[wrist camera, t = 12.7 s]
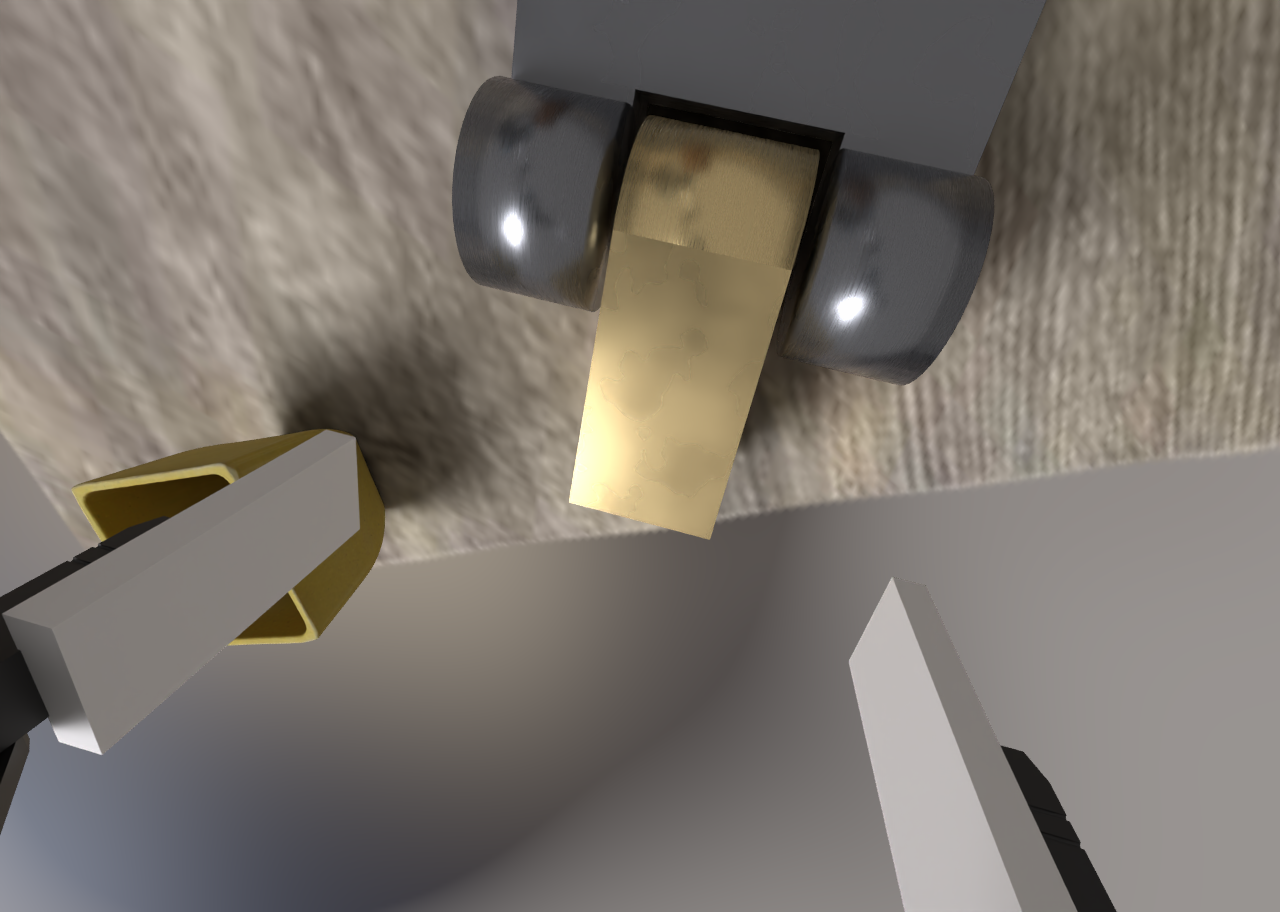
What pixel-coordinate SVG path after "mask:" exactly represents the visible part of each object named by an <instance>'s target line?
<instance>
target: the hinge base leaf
mask: <svg viewBox="0 0 1280 912" xmlns="http://www.w3.org/2000/svg"><path fill="white" fill-rule="evenodd" d="M1045 2H1046V0H518V1H517V14H516V27H515V40H514V53H513V66H512V78H507V77H503V76H495V77H492V78H490V79H488V80H487V81H486V82H485V83H483V85H482V86H481V87H480V88H479V90H478V91H477V92H476V94H475V96H474V97H473V99H472V101H471V103H470V106H469V108H468V110H467V112H466V115H465V118H464V121H463V124H462V128H461V132H460V136H459V140H458V145H457V150H456V156H455V164H454V172H453V187H452V206H453V222H454V231H455V237H456V242H457V246H458V250H459V254H460V257H461V260H462V262H463V265H464V267H465V269H466V271H467V273H468V274H469V275H470V277H471V278H472V279H473V280H474V281H475V282H476V283H478V284H480V285H483V286H487V287H491V288H495V289H499V290H504V291H508V292H512V293H516V294H520V295H524V296H529V297H533V298H537V299H541V300H545V301H550V302H554V303H558V304H562V305H566V306H570V307H575V308H579V309H583V310H587V311H591V312H595V311H597V310H598V309H599V308H600V307H601V301H602V295H603V289H604V283H605V276H606V270H607V264H608V258H609V251H610V245H611V239H612V233H613V227H614V221H615V215H616V210H617V205H618V200H619V196H620V191H621V187H622V182H623V179H624V175H625V171H626V167H627V164H628V160H629V157H630V153H631V150H632V147H633V144H634V142H635V139H636V137H637V134H638V132H639V130H640V127H641V125H642V124H643V122H644V120H645V119H646V118H647V113H648V108H649V104H654V105H659V106H664V107H668V108H673V109H678V110H683V111H688V112H692V113H697V114H702V115H707V116H711V117H716V118H721V119H726V120H731V121H735V122H740V123H745V124H750V125H754V126H759V127H764V128H769V129H774V130H778V131H783V132H788V133H793V134H797V135H802V136H807V137H812V138H817V139H821V140H826V141H831V142H832V145H831V149H830V152H829V155H828V158H827V162H826V165H825V168H824V171H823V175H822V178H821V181H820V184H819V188H818V191H817V194H816V197H815V201H814V204H813V207H812V210H811V214H810V217H809V220H808V223H807V228H806V231H805V234H804V237H803V240H802V243H801V246H800V249H799V253H798V256H797V259H796V263H795V266H794V270H793V273H792V277H791V280H790V284H789V288H788V292H787V296H786V300H785V304H784V308H783V313H782V318H781V323H780V328H779V334H778V342H777V354H778V356H779V357H783V358H788V359H792V360H796V361H800V362H804V363H808V364H813V365H817V366H821V367H825V368H829V369H833V370H838V371H842V372H846V373H850V374H854V375H859V376H863V377H867V378H871V379H875V380H879V381H884V382H888V383H892V384H896V385H906V384H909V383H911V382H912V381H914V380H915V379H917V378H918V377H919V376H920V375H921V374H923V373H924V372H925V370H926V369H927V368H928V367H929V366H930V365H931V364H932V363H933V361H934V360H935V359H936V358H937V356H938V355H939V353H940V352H941V351H942V349H943V348H944V346H945V345H946V343H947V342H948V340H949V338H950V337H951V335H952V333H953V332H954V330H955V328H956V326H957V324H958V322H959V321H960V319H961V317H962V315H963V313H964V310H965V308H966V306H967V304H968V302H969V300H970V297H971V295H972V293H973V290H974V288H975V285H976V283H977V280H978V277H979V275H980V272H981V269H982V266H983V262H984V259H985V256H986V252H987V249H988V245H989V241H990V236H991V231H992V225H993V217H994V195H993V190H992V187H991V184H990V183H989V181H988V180H987V179H985V178H983V177H979V176H974V173H975V170H976V168H977V166H978V163H979V161H980V158H981V156H982V154H983V151H984V149H985V146H986V144H987V142H988V139H989V137H990V134H991V132H992V130H993V127H994V125H995V122H996V120H997V117H998V115H999V113H1000V110H1001V108H1002V105H1003V103H1004V101H1005V98H1006V96H1007V93H1008V91H1009V89H1010V86H1011V84H1012V81H1013V79H1014V77H1015V74H1016V72H1017V69H1018V67H1019V65H1020V62H1021V60H1022V57H1023V55H1024V53H1025V50H1026V48H1027V45H1028V43H1029V41H1030V38H1031V36H1032V33H1033V31H1034V29H1035V26H1036V24H1037V21H1038V19H1039V17H1040V14H1041V12H1042V9H1043V7H1044V5H1045Z"/></svg>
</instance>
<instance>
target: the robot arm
mask: <svg viewBox="0 0 1280 912" xmlns="http://www.w3.org/2000/svg"><path fill="white" fill-rule="evenodd" d="M359 529H360V519H359V498H358V477H357V456H356V437H353V436H349V435H345V434H341V433H337V432H334V431H330V430H325V431H323V432H321V433H320V434H318V435H316V436H314V437H312V438H311V439H309V440H307V441H305V442H304V443H302V444H300V445H298V446H297V447H295V448H293V449H291V450H290V451H288V452H286V453H284V454H283V455H281V456H279V457H277V458H275V459H274V460H272V461H270V462H268V463H267V464H265V465H263V466H261V467H260V468H258V469H256V470H254V471H253V472H251V473H249V474H247V475H246V476H244V477H242V478H240V479H238V480H237V481H235V482H233V483H231V484H230V485H228V486H226V487H224V488H223V489H221V490H219V491H217V492H216V493H214V494H212V495H210V496H209V497H207V498H205V499H203V500H201V501H200V502H198V503H196V504H194V505H193V506H191V507H189V508H187V509H186V510H184V511H182V512H180V513H179V514H177V515H175V516H173V517H172V518H169V517H166V516H162V517H159V518H156V519H153V520H150V521H147V522H144V523H141V524H137V525H134V526H131V527H128V528H126V529H125V530H123V531H121V532H119V533H117V534H115V535H114V536H112V537H110V538H108V539H106V540H104V541H103V542H101V543H99V544H98V547H96V548H94V547H92V548H90V549H88V550H86V551H84V552H82V553H81V554H79V555H77V556H75V557H73V560H72V561H71V562H69V561H66V562H64V563H62V564H60V565H58V566H57V567H55V568H53V569H51V570H49V571H47V572H46V573H44V574H42V575H40V576H38V577H37V578H35V579H33V580H31V581H29V582H27V583H25V584H24V585H22V586H20V587H18V588H16V589H14V590H12V591H11V592H9V593H7V594H5V595H3V596H2V597H0V834H1V831H2V828H3V825H4V822H5V819H6V817H7V814H8V811H9V808H10V805H11V802H12V799H13V796H14V793H15V790H16V788H17V785H18V782H19V779H20V776H21V773H22V770H23V767H24V764H25V762H26V759H27V756H28V753H29V744H30V743H29V742H30V738H29V736H28V734H27V733H28V732H29V731H30V730H32V729H33V728H34V727H35V726H37V725H38V724H39V723H41V722H42V721H44V720H45V719H46V718H47V717H48V718H49V721H50V723H51V725H52V727H53V730H54V732H55V734H56V736H57V739H58V740H59V742H62V743H65V744H68V745H71V746H75V747H78V748H81V749H84V750H88V751H91V752H94V753H97V754H101V755H103V754H104V753H105V752H106V751H107V750H108V749H110V748H111V747H112V746H113V745H114V744H115V743H116V742H117V741H119V740H120V739H121V738H122V737H123V736H124V735H126V734H127V733H128V732H129V731H130V730H131V729H132V728H134V726H136V725H137V724H138V723H139V722H140V721H142V720H143V719H144V718H145V717H146V716H147V715H148V714H150V713H151V712H152V711H153V710H154V709H155V708H156V707H157V706H159V705H160V704H161V703H162V702H163V701H164V700H165V699H167V698H168V697H169V696H170V695H171V694H172V693H173V692H175V691H176V690H177V689H178V688H179V687H180V686H181V685H183V684H184V683H185V682H186V681H187V680H188V679H189V678H191V677H192V676H193V675H194V674H195V673H196V672H197V671H199V670H200V669H201V668H202V667H203V666H204V665H205V664H207V663H208V662H209V661H210V660H211V659H212V658H213V657H215V656H216V655H217V654H218V653H219V652H220V651H221V650H223V648H225V646H227V645H228V644H229V643H231V642H232V641H233V640H234V639H235V638H236V637H237V636H239V635H240V634H241V633H242V632H243V631H244V630H245V629H247V628H248V627H249V626H250V625H251V624H252V623H253V622H254V621H256V620H257V619H258V618H259V617H260V616H261V615H262V614H264V613H265V612H266V611H267V610H268V609H269V608H270V607H272V606H273V605H274V604H275V603H276V602H277V601H278V600H280V599H281V598H282V597H283V596H284V595H285V594H286V593H288V592H289V591H290V590H291V589H292V588H293V587H294V586H296V585H297V584H298V583H299V582H300V581H301V580H302V579H304V578H305V577H306V576H307V575H308V574H309V573H310V572H312V571H313V570H314V569H315V568H316V567H317V566H318V565H319V564H321V563H322V562H323V561H324V560H325V559H326V558H327V557H329V556H330V555H331V554H332V553H333V552H334V551H335V550H337V549H338V548H339V547H340V546H341V545H342V544H343V543H345V542H346V541H347V540H348V539H349V538H350V537H351V536H353V535H354V534H355V533H356V532H357V531H358V530H359ZM849 665H850V670H851V674H852V679H853V683H854V688H855V692H856V697H857V701H858V705H859V710H860V714H861V719H862V723H863V728H864V732H865V737H866V741H867V745H868V750H869V754H870V758H871V763H872V768H873V772H874V777H875V781H876V786H877V790H878V794H879V799H880V803H881V808H882V812H883V817H884V821H885V825H886V830H887V835H888V839H889V843H890V848H891V852H892V857H893V861H894V865H895V870H896V875H897V879H898V884H899V887H900V892H901V897H902V901H903V906H904V910H905V912H1116V910H1115V908H1114V906H1113V904H1112V902H1111V900H1110V898H1109V896H1108V894H1107V893H1106V890H1105V889H1104V887H1103V885H1102V883H1101V881H1100V879H1099V877H1098V875H1097V873H1096V871H1095V869H1094V867H1093V865H1092V864H1091V862H1090V860H1089V858H1088V856H1087V854H1086V852H1085V850H1083V849H1081V848H1080V840H1079V838H1078V837H1077V835H1076V833H1075V831H1074V829H1073V827H1072V825H1071V823H1070V822H1069V821H1067V820H1066V814H1065V811H1064V810H1063V808H1062V806H1061V804H1060V802H1059V800H1058V798H1057V796H1056V794H1055V792H1054V790H1053V788H1052V786H1051V784H1050V783H1049V781H1048V780H1047V779H1046V778H1045V777H1044V776H1043V774H1042V773H1041V772H1040V771H1039V770H1038V768H1037V767H1036V766H1035V765H1034V764H1033V762H1032V761H1031V760H1030V759H1029V758H1028V757H1027V756H1026V754H1025V753H1024V752H1023V751H1019V750H1015V749H1012V748H1008V747H1004V746H1001V745H1000V744H999V742H998V740H997V738H996V736H995V733H994V731H993V729H992V727H991V725H990V723H989V720H988V718H987V716H986V714H985V712H984V710H983V707H982V706H981V703H980V701H979V699H978V697H977V695H976V692H975V690H974V688H973V686H972V684H971V682H970V679H969V677H968V675H967V673H966V671H965V669H964V667H963V664H962V662H961V660H960V658H959V656H958V654H957V651H956V649H955V647H954V645H953V643H952V641H951V639H950V636H949V634H948V632H947V630H946V628H945V626H944V623H943V621H942V619H941V617H940V615H939V613H938V611H937V608H936V606H935V604H934V602H933V600H932V598H931V596H930V594H929V591H928V589H927V587H926V585H922V584H918V583H915V582H911V581H907V580H903V579H899V578H895V577H892V578H891V580H890V582H889V584H888V586H887V588H886V590H885V592H884V594H883V596H882V598H881V600H880V602H879V604H878V605H877V607H876V609H875V611H874V613H873V615H872V617H871V619H870V621H869V623H868V625H867V627H866V629H865V631H864V633H863V635H862V637H861V639H860V640H859V642H858V644H857V646H856V648H855V650H854V652H853V654H852V656H851V658H850V660H849Z"/></svg>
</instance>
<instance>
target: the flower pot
mask: <svg viewBox="0 0 1280 912" xmlns="http://www.w3.org/2000/svg"><path fill="white" fill-rule="evenodd" d="M325 430H330V431H334V432H337V433H341V434H345V435H349V436H353V435H352V434H350V433H347V432H344V431H340V430H335V429H316V430H309V431H303V432H297V433H292V434H286V435H280V436H274V437H268V438H262V439H256V440H249V441H243V442H235V443H227V444H220V445H213V446H208V447H203V448H198V449H193V450H189V451H185V452H182V453H178V454H175V455H171V456H168V457H165V458H162V459H159V460H155V461H152V462H149V463H146V464H142V465H139V466H136V467H133V468H129V469H126V470H123V471H119V472H116V473H113V474H110V475H106V476H103V477H100V478H97V479H93V480H90V481H87V482H84V483H81V484H78V485H76V486H74V487H73V488H72V492H73V494H74V496H75V498H76V500H77V502H78V504H79V506H80V507H81V509H82V511H83V512H84V514H85V516H86V517H87V519H88V521H89V522H90V524H91V526H92V527H93V529H94V530H95V532H96V533H97V535H98V536H99V538H100V540H101V541H102V542H103V541H104V540H106V539H108V538H110V537H112V536H114V535H115V534H117V533H119V532H121V531H123V530H125V529H126V528H128V527H131V526H134V525H137V524H141V523H144V522H147V521H150V520H153V519H156V518H159V517H162V516H166V517H169V518H172V517H173V516H175V515H177V514H179V513H180V512H182V511H184V510H186V509H187V508H189V507H191V506H193V505H194V504H196V503H198V502H200V501H201V500H203V499H205V498H207V497H209V496H210V495H212V494H214V493H216V492H217V491H219V490H221V489H223V488H224V487H226V486H228V485H230V484H231V483H233V482H235V481H237V480H238V479H240V478H242V477H244V476H246V475H247V474H249V473H251V472H253V471H254V470H256V469H258V468H260V467H261V466H263V465H265V464H267V463H268V462H270V461H272V460H274V459H275V458H277V457H279V456H281V455H283V454H284V453H286V452H288V451H290V450H291V449H293V448H295V447H297V446H298V445H300V444H302V443H304V442H305V441H307V440H309V439H311V438H312V437H314V436H316V435H318V434H320V433H321V432H323V431H325ZM353 437H354V436H353ZM356 456H357V477H358V498H359V519H360V529H359V530H358V531H357V532H356V533H355V534H354V535H353V536H351V537H350V538H349V539H348V540H347V541H346V542H345V543H343V544H342V545H341V546H340V547H339V548H338V549H337V550H335V551H334V552H333V553H332V554H331V555H330V556H329V557H327V558H326V559H325V560H324V561H323V562H322V563H321V564H319V565H318V566H317V567H316V568H315V569H314V570H313V571H312V572H310V573H309V574H308V575H307V576H306V577H305V578H304V579H302V580H301V581H300V582H299V583H298V584H297V585H296V586H294V587H293V588H292V589H291V590H290V591H289V592H288V593H286V594H285V595H284V596H283V597H282V598H281V599H280V600H278V601H277V602H276V603H275V604H274V605H273V606H272V607H270V608H269V609H268V610H267V611H266V612H265V613H264V614H262V615H261V616H260V617H259V618H258V619H257V620H256V621H254V622H253V623H252V624H251V625H250V626H249V627H248V628H247V629H245V630H244V631H243V632H242V633H241V634H240V635H239V636H237V637H236V638H235V639H234V640H233V641H232V642H231V643H229V644H228V645H227V646H229V645H242V644H243V645H248V644H279V643H302V642H308V641H312V640H316V639H317V638H319V636H320V635H321V634H322V633H323V631H324V630H325V629H326V627H327V626H328V625H329V624H330V622H331V621H332V620H333V619H334V617H335V616H336V615H337V613H338V612H339V611H340V610H341V608H342V607H343V606H344V605H345V603H346V602H347V601H348V599H349V598H350V597H351V596H352V594H353V593H354V592H355V590H356V589H357V588H358V587H359V585H360V584H361V583H362V581H363V580H364V579H365V577H366V576H367V574H368V573H369V572H370V570H371V568H372V567H373V565H374V563H375V561H376V559H377V557H378V554H379V552H380V549H381V545H382V541H383V536H384V528H385V508H384V504H383V502H382V500H381V498H380V495H379V493H378V491H377V488H376V486H375V484H374V481H373V479H372V477H371V475H370V472H369V470H368V467H367V465H366V462H365V460H364V458H363V455H362V453H361V450H360V448H359V445H358V443H357V441H356Z"/></svg>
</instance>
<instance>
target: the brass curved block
mask: <svg viewBox="0 0 1280 912" xmlns="http://www.w3.org/2000/svg"><path fill="white" fill-rule="evenodd" d="M818 164H819V150H816V149H811V148H806V147H802V146H797V145H792V144H787V143H783V142H778V141H773V140H768V139H764V138H759V137H754V136H749V135H744V134H740V133H735V132H730V131H725V130H721V129H716V128H711V127H706V126H701V125H697V124H692V123H687V122H682V121H678V120H673V119H668V118H663V117H658V116H654V115H649V116H648V117H647V118H646V119H645V120H644V122H643V124H642V125H641V127H640V130H639V132H638V134H637V137H636V139H635V142H634V144H633V147H632V150H631V153H630V157H629V160H628V164H627V167H626V171H625V175H624V179H623V182H622V187H621V191H620V196H619V200H618V205H617V210H616V215H615V221H614V227H613V233H612V239H611V245H610V251H609V258H608V264H607V270H606V276H605V283H604V289H603V295H602V301H601V307H600V314H599V320H598V326H597V332H596V338H595V345H594V351H593V357H592V363H591V369H590V376H589V382H588V388H587V394H586V401H585V407H584V413H583V419H582V425H581V432H580V438H579V444H578V450H577V456H576V463H575V469H574V475H573V481H572V487H571V494H570V500H569V502H570V503H574V504H578V505H581V506H585V507H589V508H593V509H596V510H600V511H604V512H608V513H611V514H615V515H619V516H623V517H626V518H630V519H634V520H638V521H642V522H645V523H649V524H653V525H657V526H660V527H664V528H668V529H672V530H675V531H679V532H683V533H687V534H690V535H694V536H698V537H702V538H706V539H709V540H710V537H711V534H712V531H713V527H714V524H715V521H716V517H717V514H718V511H719V508H720V504H721V501H722V498H723V494H724V491H725V488H726V485H727V481H728V478H729V475H730V472H731V468H732V465H733V462H734V458H735V455H736V452H737V449H738V445H739V442H740V439H741V435H742V432H743V429H744V426H745V422H746V419H747V416H748V413H749V409H750V406H751V403H752V399H753V396H754V393H755V390H756V386H757V383H758V380H759V376H760V373H761V370H762V367H763V363H764V360H765V357H766V354H767V350H768V347H769V344H770V340H771V337H772V334H773V331H774V327H775V324H776V321H777V318H778V314H779V311H780V308H781V304H782V301H783V298H784V295H785V291H786V288H787V285H788V281H789V278H790V275H791V272H792V268H793V265H794V262H795V258H796V255H797V251H798V248H799V244H800V241H801V237H802V234H803V230H804V226H805V223H806V219H807V215H808V211H809V207H810V203H811V199H812V194H813V190H814V185H815V181H816V175H817V170H818Z"/></svg>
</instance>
